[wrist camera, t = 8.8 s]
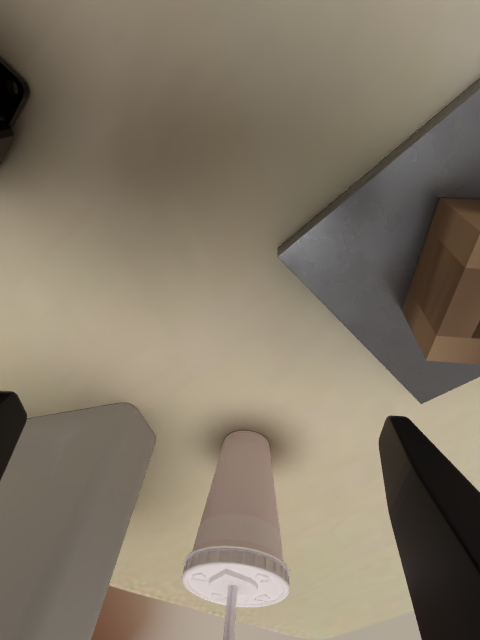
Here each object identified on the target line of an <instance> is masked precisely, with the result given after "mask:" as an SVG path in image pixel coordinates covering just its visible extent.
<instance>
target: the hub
mask: <svg viewBox="0 0 480 640" xmlns="http://www.w3.org/2000/svg"><path fill="white" fill-rule="evenodd" d="M440 198H454V199H478V200H480V79H479V80H477V81H476V82H475V83H474V84H473V85H471V86H470V87H469V88H468V89H467V90H466V91H464V92H463V93H462V94H461V95H460V96H458V97H457V98H456V99H455V100H454V101H452V102H451V103H450V104H449V105H448V106H447V107H445V108H444V109H443V110H442V111H441V112H439V113H438V114H437V115H436V116H435V117H434V118H432V119H431V120H430V121H429V122H428V123H426V124H425V125H424V126H423V127H422V128H420V129H419V130H418V131H417V132H416V133H415V134H413V135H412V136H411V137H410V138H409V139H407V140H406V141H405V142H404V143H403V144H401V145H400V146H399V147H398V148H397V149H396V150H394V151H393V152H392V153H391V154H390V155H388V156H387V157H386V158H385V159H384V160H383V161H381V162H380V163H379V164H378V165H377V166H375V167H374V168H373V169H372V170H371V171H369V172H368V173H367V174H366V175H365V176H364V177H362V178H361V179H360V180H359V181H358V182H356V183H355V184H354V185H353V186H352V187H350V188H349V189H348V190H347V191H346V192H345V193H343V194H342V195H341V196H340V197H339V198H337V199H336V200H335V201H334V202H333V203H332V204H330V205H329V206H328V207H327V208H326V209H324V210H323V211H322V212H321V213H320V214H318V215H317V216H316V217H315V218H314V219H313V220H311V221H310V222H309V223H308V224H307V225H305V226H304V227H303V228H302V229H301V230H299V231H298V232H297V233H296V234H295V235H294V236H292V237H291V238H290V239H289V240H288V241H286V242H285V243H284V244H283V245H282V246H281V247H279V248H278V258H279V259H280V260H281V261H282V262H283V263H284V264H285V265H286V266H287V267H288V268H289V269H290V270H291V271H292V272H293V273H294V274H295V275H296V276H297V277H298V278H299V279H300V280H301V281H302V282H303V283H304V284H305V285H306V286H307V287H308V288H309V289H310V290H311V291H312V292H313V293H314V295H315V296H316V297H317V298H318V299H319V300H320V301H321V302H322V303H323V304H324V305H325V306H326V307H327V308H328V309H329V310H330V311H331V312H332V313H333V314H334V315H335V316H336V317H337V318H338V319H339V320H340V321H341V322H342V323H343V324H344V325H345V326H346V327H347V328H348V329H349V330H350V331H351V332H352V334H353V335H354V336H355V337H356V338H357V339H358V340H359V341H360V342H361V343H362V344H363V345H364V346H365V347H366V348H367V349H368V350H369V351H370V352H371V353H372V354H373V355H374V356H375V357H376V358H377V359H378V360H379V361H380V362H381V363H382V364H383V365H384V366H385V367H386V368H387V369H388V370H389V372H390V373H391V374H392V375H393V376H394V377H395V378H396V379H397V380H398V381H399V382H400V383H401V384H402V385H403V386H404V387H405V388H406V389H407V390H408V391H409V392H410V393H411V394H412V395H413V396H414V397H415V398H416V399H417V400H418V401H419V402H420V403H421V404H422V403H425V402H427V401H429V400H431V399H433V398H435V397H437V396H439V395H442V394H444V393H446V392H448V391H450V390H452V389H454V388H457V387H459V386H461V385H463V384H465V383H467V382H469V381H472V380H474V379H476V378H478V377H480V365H479V364H466V363H453V362H440V361H427V360H425V358H424V356H423V354H422V351H421V349H420V347H419V345H418V343H417V341H416V339H415V337H414V335H413V333H412V331H411V329H410V327H409V325H408V323H407V321H406V319H405V316H404V314H403V312H402V309H403V306H404V303H405V300H406V297H407V294H408V291H409V288H410V285H411V282H412V279H413V276H414V273H415V270H416V267H417V264H418V261H419V258H420V255H421V252H422V249H423V246H424V243H425V240H426V237H427V234H428V231H429V228H430V225H431V222H432V219H433V217H434V214H435V211H436V208H437V205H438V202H439V199H440Z"/></svg>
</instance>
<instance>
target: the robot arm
mask: <svg viewBox="0 0 480 640" xmlns="http://www.w3.org/2000/svg"><path fill="white" fill-rule="evenodd" d="M12 82H15V84H16V85H17V87H18V93H15V92H14V90H13V88H12ZM28 96H29V87H28V85H27V82H26V81H25V80H24V79H23V77H21V76H20V75H19V74H18V73H17V72H16V71H15V70H14V69H13V68H12V67H11V66H10V65H9V64H8V63H7V62H5V61H4V60H3V59H2V58H1V57H0V163H1V161H2V159H3V157H4V155H5V153H6V151H7V150H8V148H9V146H10V144H11V142H12V140H13V138H14V130H13V128H12V127H13V125H14V123H15V122H16V120H17V118H18V116H19V114H20V112H21V110H22V108H23V106H24V104H25V103H26V101H27V99H28ZM26 420H27V413H26V411H25V409H24V407H23V405H22V403H21V401H20V399H19V397H18V395H17V394H16V393H15V392H12V391H0V481H1V479H2V476H3V474H4V472H5V470H6V468H7V465H8V463H9V461H10V458H11V456H12V454H13V452H14V449H15V447H16V445H17V442H18V440H19V438H20V435H21V433H22V431H23V429H24V426H25V424H26ZM379 451H380V458H381V465H382V472H383V478H384V485H385V492H386V498H387V505H388V510H389V515H390V520H391V524H392V528H393V532H394V535H395V539H396V543H397V547H398V551H399V554H400V558H401V562H402V566H403V570H404V574H405V577H406V581H407V585H408V589H409V593H410V596H411V600H412V604H413V608H414V612H415V615H416V619H417V623H418V626H419V631H420V634H421V638H422V640H480V492H479V491H478V490H477V489H476V488H475V487H474V486H473V485H472V484H471V483H470V482H469V481H468V480H467V479H466V478H465V477H464V475H463V474H462V473H461V472H460V471H459V470H458V469H457V468H456V467H455V466H454V465H453V464H452V463H451V462H450V461H449V460H448V459H447V458H446V457H445V456H444V455H443V454H442V453H441V452H440V451H439V450H438V449H437V447H436V446H435V445H434V444H433V443H432V442H431V441H430V440H429V439H428V438H427V437H426V436H425V435H424V434H423V433H422V432H421V431H420V430H419V429H418V428H417V427H416V426H415V425H414V424H413V423H412V422H411V420H409V419H408V418H407V417H404V416H388V417H387V418H386V420H385V423H384V426H383V429H382V431H381V434H380V437H379Z"/></svg>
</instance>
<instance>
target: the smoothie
mask: <svg viewBox="0 0 480 640" xmlns="http://www.w3.org/2000/svg"><path fill="white" fill-rule="evenodd" d="M289 578H290V570H289V568H288V567H287V565H286V564H285V563H284V562H283V554H282V544H281V536H280V529H279V521H278V512H277V504H276V496H275V488H274V480H273V472H272V463H271V455H270V447H269V442H268V441H267V439H266V438H265V437H264V436H262V435H261V434H259V433H256V432H253V431H236V432H233V433H231V434H229V435H228V436H227V437H226V438H225V440H224V443H223V446H222V450H221V453H220V457H219V460H218V464H217V467H216V471H215V474H214V478H213V481H212V485H211V488H210V492H209V495H208V498H207V502H206V505H205V509H204V512H203V516H202V519H201V523H200V526H199V529H198V533H197V536H196V540H195V544H194V547H193V551H192V552H191V553H190V554H189V555H188V556H187V557H186V558H185V561H184V571H183V576H182V581H183V584H184V586H185V587H186V588H187V589H188V590H189V591H190V592H191V593H193V594H194V595H196V596H198V597H200V598H202V599H205V600H207V601H210V602H214V603H217V604H222V605H226V615H225V626H224V636H223V640H234V632H235V619H236V607H263V606H268V605H272V604H275V603H278V602H280V601H282V600H283V599H284V598H286V597H287V595H288V594H289Z"/></svg>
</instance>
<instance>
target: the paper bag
mask: <svg viewBox="0 0 480 640" xmlns="http://www.w3.org/2000/svg"><path fill="white" fill-rule="evenodd" d="M155 443H156V437H155V435H154V433H153V431H152V430H151V428H150V427H149V426H148V424H147V423H146V421H145V420H144V418H143V417H142V415H141V414H140V412H139V411H138V409H137V408H136V407H135V406H133V405H131V404H129V403H117V404H111V405H105V406H99V407H93V408H88V409H82V410H76V411H70V412H64V413H58V414H52V415H46V416H41V417H35V418H29V419H27V420H26V424H25V426H24V429H23V431H22V433H21V435H20V438H19V440H18V442H17V445H16V447H15V449H14V452H13V454H12V456H11V458H10V461H9V463H8V465H7V468H6V470H5V472H4V474H3V476H2V479H1V481H0V640H91V637H92V634H93V631H94V628H95V625H96V622H97V619H98V616H99V613H100V610H101V607H102V604H103V601H104V598H105V595H106V592H107V589H108V586H109V583H110V580H111V577H112V574H113V571H114V568H115V565H116V561H117V558H118V555H119V552H120V549H121V546H122V543H123V540H124V537H125V534H126V531H127V528H128V525H129V522H130V519H131V516H132V513H133V510H134V507H135V504H136V501H137V498H138V495H139V492H140V488H141V485H142V482H143V479H144V476H145V473H146V470H147V467H148V464H149V461H150V458H151V455H152V452H153V449H154V446H155Z"/></svg>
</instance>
